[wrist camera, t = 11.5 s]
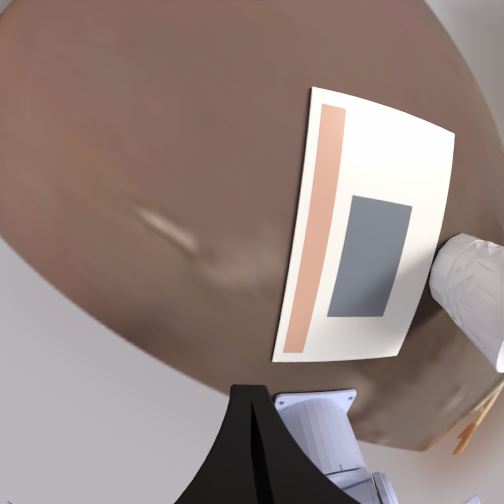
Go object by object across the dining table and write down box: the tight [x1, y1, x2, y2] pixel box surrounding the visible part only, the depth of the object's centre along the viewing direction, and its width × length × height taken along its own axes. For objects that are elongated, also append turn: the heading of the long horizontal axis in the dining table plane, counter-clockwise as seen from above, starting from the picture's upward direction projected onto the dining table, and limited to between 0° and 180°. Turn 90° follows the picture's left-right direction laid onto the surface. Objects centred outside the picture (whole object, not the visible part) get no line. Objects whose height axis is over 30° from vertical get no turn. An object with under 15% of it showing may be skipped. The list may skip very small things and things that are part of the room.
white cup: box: [429, 233, 504, 373], centre depth 15 cm, size 8×8×10 cm
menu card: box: [272, 87, 454, 362], centre depth 18 cm, size 20×12×1 cm, turn 174°
